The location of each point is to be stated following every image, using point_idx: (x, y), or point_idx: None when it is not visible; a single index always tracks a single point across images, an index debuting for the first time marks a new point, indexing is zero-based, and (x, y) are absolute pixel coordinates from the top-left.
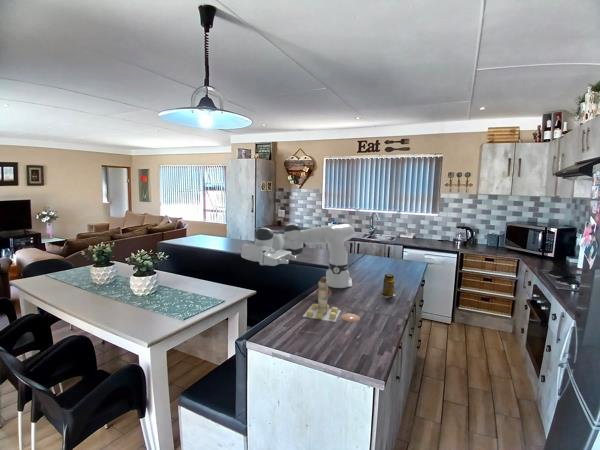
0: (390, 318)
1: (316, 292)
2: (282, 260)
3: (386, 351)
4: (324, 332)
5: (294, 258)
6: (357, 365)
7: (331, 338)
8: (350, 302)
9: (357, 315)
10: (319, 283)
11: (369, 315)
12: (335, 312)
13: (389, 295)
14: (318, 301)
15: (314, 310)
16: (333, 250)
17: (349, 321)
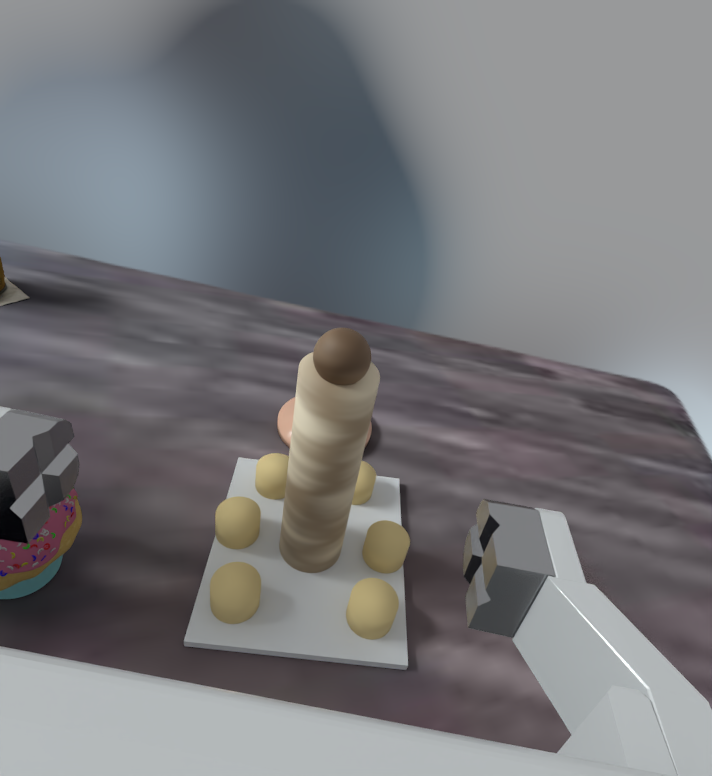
0: (274, 321)
1: (3, 580)
2: (629, 645)
3: (525, 361)
4: None
5: (58, 465)
6: (658, 423)
7: (555, 492)
8: (86, 420)
9: (294, 397)
10: (370, 396)
11: (261, 368)
12: None
13: (4, 284)
14: (341, 510)
15: (275, 598)
16: None
17: (371, 427)
